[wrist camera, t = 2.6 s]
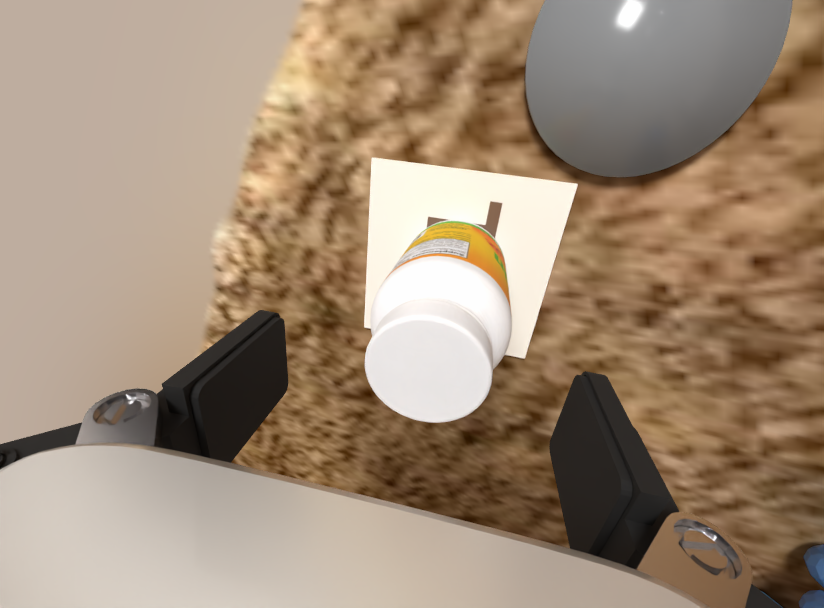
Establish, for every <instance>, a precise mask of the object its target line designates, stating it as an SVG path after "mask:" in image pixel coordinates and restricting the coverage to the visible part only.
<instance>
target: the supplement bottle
mask: <svg viewBox="0 0 824 608" xmlns="http://www.w3.org/2000/svg"><path fill="white" fill-rule="evenodd" d="M370 323H371V332H372V336H373V337H372V338H371V340H370V342H369V344H368V347H367V350H366V354H365V371H366V375H367V378H368V381H369V383H370V385H371V387H372V389H373V391H374V392H375V393H376V395H377V396H378V397H379V398H380V399H381V400H382V401H383V402H384V403H385V404H386V405H387V406H388V407H390V408H391V409H393V410H394V411H396V412H398V413H399V414H401V415H403V416H406V417H409V418H411V419H414V420H418V421H423V422H432V423H439V422H449V421H453V420H457V419H460V418H462V417H464V416H466V415H468V414H470V413H471V412H473V411H474V410H475V409H477V408H478V407H479V406H480V405H481V404H482V402H483V401H484V399H485V398H486V396H487V395H488V392H489V390H490V387H491V383H492V376H493V369H494V368H495V367H496V366H497V365H498V364H499V362H500V361H501V360H502V358H503V357H504V355H505V353H506V351H507V348H508V346H509V342H510V338H511V332H512V314H511V306H510V298H509V287H508V281H507V273H506V264H505V259H504V255H503V252H502V250H501V248H500V246H499V244H498V242H497V241H496V240H495V238H494V237H493V236H492V235H491V234H490V233H489V232H488V231H486V230H485V229H484V228H482V227H480V226H479V225H476V224H474V223H471V222H468V221H462V220H446V221H441V222H438V223H435V224H433V225H431V226H429V227H427V228H426V229H425V230H423V231H422V232H421V233H420V234H419V235H418V236H417V237H416V238H415V239H414V240H413V241H412V243H411V244H410V245H409V247H408V248H407V250H406V251H405V252H404V254H403V255H402V257H401V258H400V259H399V261H398V262H397V263H396V265H395V266H394V268H393V269H392V271H391V272H390V273H389V275H388V276H387V277H386V279H385V280H384V282H383V283H382V285H381V287H380V288H379V290H378V292H377V294H376V296H375V298H374V301H373V304H372V308H371V318H370Z"/></svg>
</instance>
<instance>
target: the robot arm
mask: <svg viewBox="0 0 824 608" xmlns="http://www.w3.org/2000/svg"><path fill="white" fill-rule="evenodd" d="M162 387H163V389H162V390H161V391H160V392H159V393H157V394H156V393H154V392H153V391H151V390H147V389H129V390H125V391H121V392H117V393H114V394H112V395H109V396H107V397H105V398H103V399H102V400H100V401H99V402H97V403H95V404H94V405H93V406H92V407H91V408H90V409H89V410H88V411H87V413H86V415H85V416H84V419H83V422H82V423H78V424H75V425H71V426H68V427H64V428H60V429H56V430H52V431H48V432H45V433H41V434H38V435H33V436H30V437H26V438H23V439H19V440H15V441H11V442H7V443H4V444H0V608H782V607H780V606H779V605H778V604H777V603H775V602H774V601H773V600H771V599H770V598H769V597H768V596H766V595H765V594H764V593H763V592H761V591H760V590H759V589H758V588H756V587H755V586H754V585H752V584H751V583H752V569H751V567H750V564H749V562H748V559H747V558H746V556H745V555H744V553H743V552H742V551H741V549H740V548H739V546H738V545H737V544H736V543H735V542H734V541H733V540H732V539H731V538H730V537H729V536H728V535H727V534H725V533H724V532H723V531H722V530H720V529H719V528H718V527H716V526H715V525H713V524H712V523H710V522H708V521H707V520H705V519H703V518H701V517H698V516H696V515H693V514H691V513H685V512H679V510H678V508H677V506H676V504H675V502H674V500H673V498H672V497H671V495H670V493H669V491H668V489H667V487H666V485H665V483H664V481H663V479H662V478H661V476H660V474H659V472H658V470H657V468H656V466H655V464H654V462H653V460H652V459H651V457H650V455H649V453H648V451H647V449H646V447H645V445H644V443H643V441H642V440H641V438H640V436H639V434H638V432H637V431H636V429H635V428H634V427H633V426H632V424H631V422H630V420H629V418H628V416H627V414H626V412H625V410H624V409H623V407H622V405H621V403H620V401H619V399H618V397H617V395H616V393H615V391H614V389H613V387H612V385H611V383H610V382H609V380H608V378H607V376H605V375H601V374H596V373H591V372H586V371H585V372H583V373H582V375H576V376H575V378H574V380H573V383H572V385H571V388H570V390H569V393H568V396H567V398H566V401H565V403H564V406H563V409H562V411H561V414H560V416H559V419H558V422H557V424H556V427H555V429H554V432H553V435H552V437H551V440H550V455H551V460H552V464H553V469H554V474H555V479H556V483H557V488H558V493H559V498H560V502H561V507H562V512H563V517H564V521H565V526H566V531H567V536H568V540H569V545H570V548H566V547H562V546H559V545H555V544H551V543H548V542H544V541H540V540H537V539H533V538H529V537H526V536H522V535H518V534H514V533H510V532H506V531H503V530H499V529H495V528H491V527H487V526H483V525H479V524H475V523H471V522H467V521H463V520H459V519H455V518H452V517H448V516H444V515H440V514H436V513H432V512H428V511H424V510H420V509H416V508H412V507H408V506H404V505H400V504H396V503H392V502H388V501H384V500H380V499H376V498H372V497H368V496H364V495H360V494H356V493H352V492H348V491H344V490H340V489H336V488H332V487H328V486H324V485H320V484H316V483H312V482H307V481H303V480H299V479H295V478H291V477H287V476H283V475H279V474H275V473H270V472H266V471H262V470H258V469H254V468H250V467H246V466H242V465H237V464H233V463H231V462H232V460H233V459H234V458H235V456H236V455H237V454H238V453H239V451H240V450H241V449H242V448H243V446H244V445H245V444H246V442H247V441H248V440H249V439H250V437H251V436H252V435H253V434H254V432H255V431H256V430H257V428H258V427H259V426H260V425H261V423H262V422H263V421H264V420H265V418H266V417H267V416H268V414H269V413H270V412H271V411H272V409H273V408H274V407H275V406H276V404H277V403H278V402H279V400H280V399H281V398H282V397H283V395H284V394H285V392H286V390H287V387H288V372H287V356H286V341H285V325H284V320H283V319H282V318H280V316H279V314H278V313H274V312H269V311H264V310H259V311H258V312H256V313H255V314H254V315H252V316H251V317H250V318H248V319H247V320H246V321H244V322H243V323H242V324H240V325H239V326H238V327H236V328H235V329H234V330H232V331H231V332H230V333H228V334H227V335H226V336H225V337H223V338H222V339H221V340H219V341H218V342H217V343H215V344H214V345H213V346H211V347H210V348H209V349H207V350H206V351H205V352H203V353H202V354H201V355H199V356H198V357H197V358H195V359H194V360H193V361H192V362H190V363H189V364H187V365H186V366H185V367H184V368H182V369H181V370H180V371H178V372H177V373H176V374H174V375H173V376H172V377H170V378H169V379H168V380H166V381H165V382H164V383H162Z"/></svg>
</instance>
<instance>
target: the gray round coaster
mask: <svg viewBox="0 0 824 608" xmlns="http://www.w3.org/2000/svg"><path fill="white" fill-rule="evenodd" d="M791 10H792V0H545V2H544V4H543V6H542V8H541V10H540V13H539V15H538V18H537V20H536V23H535V26H534V28H533V31H532V35H531V39H530V42H529V46H528V51H527V58H526V65H525V90H526V99H527V104H528V109H529V112H530V115H531V118H532V121H533V124H534V126H535V128H536V129H537V131H538V133H539V135H540V137H541V138H542V140H543V141H544V142H545V144H546V145H547V146H548V147H549V148H550V149H551V150H552V151H553V152H554V153H555V154H556V155H557V156H558V157H559V158H561V159H562V160H563V161H565V162H566V163H568V164H570V165H572V166H574V167H576V168H577V169H580V170H583V171H586V172H588V173H591V174H595V175H601V176H606V177H633V176H639V175H644V174H650V173H653V172H656V171H660V170H663V169H666V168H668V167H671V166H673V165H675V164H678V163H680V162H682V161H684V160H686V159H687V158H689V157H691V156H693V155H695V154H696V153H698V152H699V151H701V150H702V149H704V148H705V147H707V146H708V145H710V144H711V143H712V142H714V141H715V140H716V139H717V138H718V137H720V136H721V135H722V134H723V133H724V132H726V131H727V130H728V129H729V128H730V127H731V126H732V125H733V124H734V123H735V122H736V121H737V120H738V119H739V118H740V117H741V115H742V114H743V113H744V112H745V111H746V109H747V108H748V107H749V106H750V104H751V103H752V102H753V101H754V99H755V98H756V96H757V95H758V93H759V92H760V90H761V89H762V88H763V86H764V85H765V83H766V81H767V79H768V77H769V76H770V74H771V72H772V70H773V68H774V66H775V64H776V62H777V59H778V57H779V55H780V52H781V50H782V47H783V44H784V41H785V38H786V34H787V31H788V27H789V22H790V16H791Z"/></svg>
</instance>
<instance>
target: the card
mask: <svg viewBox="0 0 824 608" xmlns="http://www.w3.org/2000/svg"><path fill="white" fill-rule="evenodd" d="M577 185H578V184H575V183H567V182H559V181H552V180H544V179H536V178H528V177H521V176H513V175H505V174H497V173H490V172H482V171H474V170H466V169H459V168H451V167H443V166H435V165H427V164H420V163H412V162H404V161H396V160H389V159H381V158H372V165H371V187H370V209H369V231H368V254H367V276H366V298H365V320H364V327H365V328H370V329H371V323H370V318H371V308H372V304H373V301H374V298H375V296H376V294H377V292H378V290H379V288H380V287H381V285H382V283H383V282H384V280H385V279H386V277H387V276H388V275H389V273H390V272H391V271H392V269H393V268H394V266H395V265H396V263H397V262H398V261H399V259H400V258H401V257H402V255H403V254H404V252H405V251H406V250H407V248H408V247H409V245H410V244H411V243H412V241H413V240H414V239H415V238H416V237H417V236H418V235H419V234H420V233H421V232H422V231H423V230H425V229H426V228H427V227H429V226H431V225H433V224H435V223H438V222H441V221H446V220H462V221H468V222H471V223H474V224H476V225H479V226H480V227H482V228H484V229H485V230H486V231H488V232H489V233H490V234H491V235H492V236H493V237H494V238H495V240H496V241H497V242H498V244H499V246H500V248H501V250H502V252H503V255H504V259H505V264H506V273H507V281H508V287H509V298H510V306H511V314H512V332H511V338H510V342H509V346H508V348H507V351H506V353H505V355H509V356H514V357H519V358H524V359H525V356H526V353H527V349H528V346H529V343H530V340H531V336H532V333H533V330H534V326H535V323H536V320H537V317H538V313H539V310H540V307H541V303H542V300H543V297H544V294H545V290H546V287H547V284H548V280H549V277H550V274H551V271H552V267H553V264H554V261H555V257H556V254H557V251H558V248H559V244H560V241H561V238H562V234H563V231H564V228H565V225H566V221H567V218H568V215H569V211H570V208H571V205H572V202H573V198H574V195H575V192H576V189H577Z"/></svg>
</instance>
